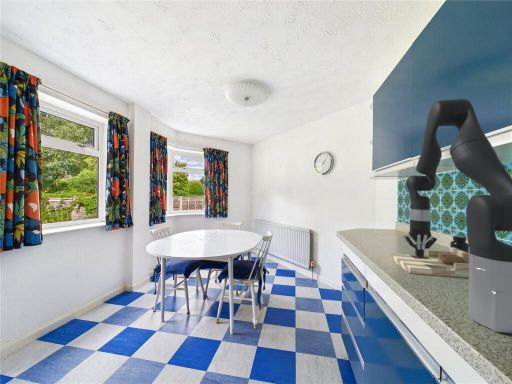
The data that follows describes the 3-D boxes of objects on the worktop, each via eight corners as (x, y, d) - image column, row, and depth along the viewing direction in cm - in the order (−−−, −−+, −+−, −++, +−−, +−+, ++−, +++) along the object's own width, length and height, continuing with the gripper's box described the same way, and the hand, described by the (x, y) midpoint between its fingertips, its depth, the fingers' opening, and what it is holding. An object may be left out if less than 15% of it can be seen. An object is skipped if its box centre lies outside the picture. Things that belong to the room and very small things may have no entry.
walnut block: (463, 265, 91) (463, 257, 91) (446, 264, 92) (446, 256, 92) (453, 261, 96) (453, 253, 96) (438, 260, 98) (438, 252, 98)
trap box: (488, 280, 82) (488, 260, 82) (409, 273, 88) (410, 255, 88) (453, 263, 102) (453, 247, 102) (390, 258, 108) (391, 243, 108)
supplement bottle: (473, 262, 103) (473, 238, 103) (458, 262, 103) (459, 237, 103) (459, 258, 110) (460, 235, 110) (446, 258, 110) (446, 234, 110)
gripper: (407, 219, 94) (406, 258, 94) (442, 221, 91) (441, 261, 91) (399, 217, 101) (399, 253, 101) (431, 218, 98) (431, 256, 98)
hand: (419, 257), depth 96 cm, fingers closed
